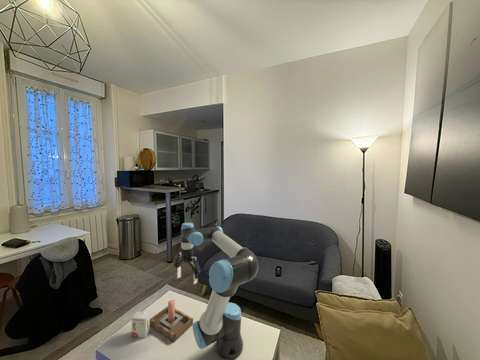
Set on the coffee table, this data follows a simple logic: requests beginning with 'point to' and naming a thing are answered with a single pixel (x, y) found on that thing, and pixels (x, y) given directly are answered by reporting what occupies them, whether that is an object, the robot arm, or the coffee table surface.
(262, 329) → the coffee table surface
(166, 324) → the socket
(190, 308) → the coffee table surface
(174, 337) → the tray
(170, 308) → the peg
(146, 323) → the ink box
